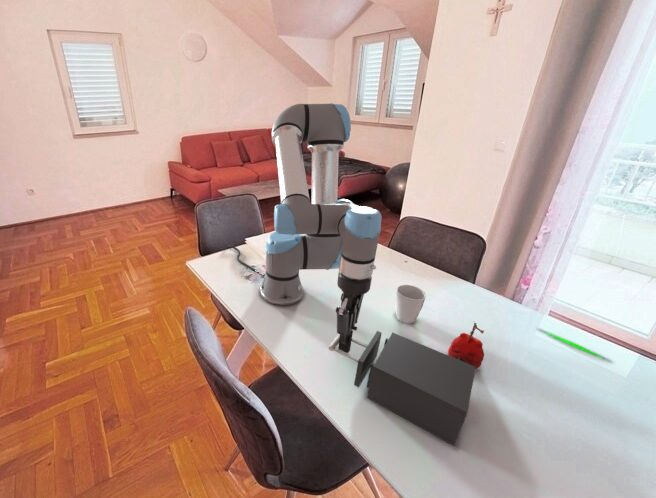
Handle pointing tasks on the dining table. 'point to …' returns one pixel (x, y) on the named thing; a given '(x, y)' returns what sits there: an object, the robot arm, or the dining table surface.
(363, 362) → the drawer
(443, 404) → the grey storage cabinet
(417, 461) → the dining table surface
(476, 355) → the red fruit with stem
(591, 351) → the leaf
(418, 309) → the cup
